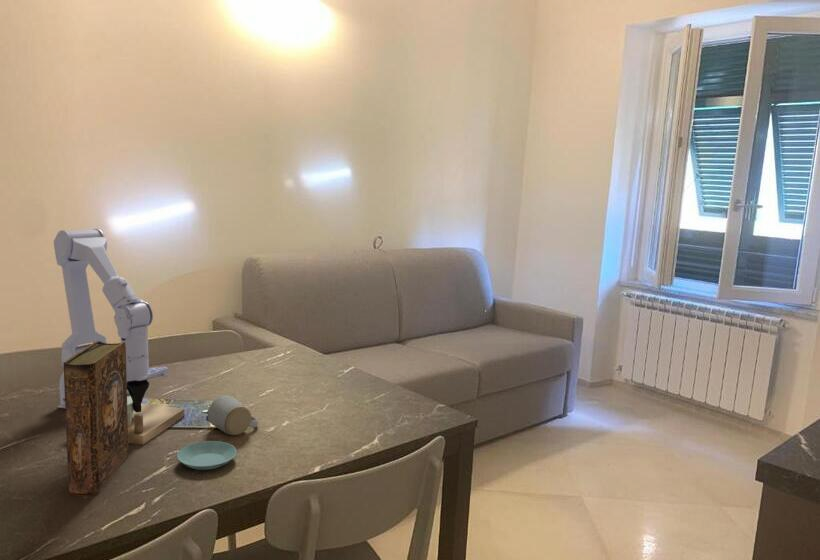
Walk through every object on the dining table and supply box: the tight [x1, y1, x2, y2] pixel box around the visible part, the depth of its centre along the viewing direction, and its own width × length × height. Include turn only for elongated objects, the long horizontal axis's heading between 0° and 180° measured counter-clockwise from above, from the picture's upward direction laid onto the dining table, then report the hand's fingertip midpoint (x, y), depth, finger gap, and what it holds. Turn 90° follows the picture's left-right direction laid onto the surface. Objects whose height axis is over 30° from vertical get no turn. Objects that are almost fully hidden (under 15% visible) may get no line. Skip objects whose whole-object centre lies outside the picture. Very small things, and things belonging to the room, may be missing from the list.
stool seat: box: [128, 403, 185, 445], centre depth 147 cm, size 17×17×6 cm
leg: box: [127, 390, 134, 426], centre depth 148 cm, size 14×3×4 cm, turn 19°
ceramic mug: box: [207, 394, 259, 437], centre depth 148 cm, size 11×8×8 cm
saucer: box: [176, 440, 238, 471], centre depth 131 cm, size 12×12×2 cm
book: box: [63, 341, 129, 497], centre depth 121 cm, size 16×6×25 cm, turn 5°
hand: (136, 411), depth 147 cm, fingers closed, pressing on leg
